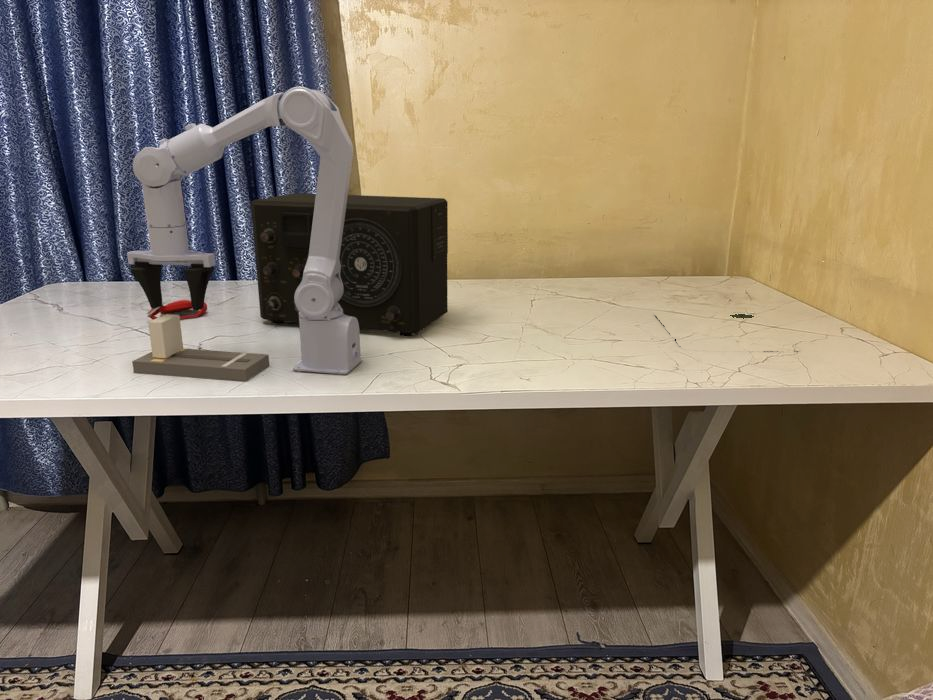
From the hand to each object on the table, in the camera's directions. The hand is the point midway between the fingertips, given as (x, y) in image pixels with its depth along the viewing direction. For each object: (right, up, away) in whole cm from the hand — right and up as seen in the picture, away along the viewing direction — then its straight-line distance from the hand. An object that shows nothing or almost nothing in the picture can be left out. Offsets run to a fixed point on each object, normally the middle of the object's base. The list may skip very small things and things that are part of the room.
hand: (177, 308), depth 117 cm
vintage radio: (+23, -1, +30) cm, 38 cm away
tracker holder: (-14, 0, +34) cm, 37 cm away
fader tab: (-2, -7, +1) cm, 8 cm away
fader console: (+4, -10, +1) cm, 11 cm away
